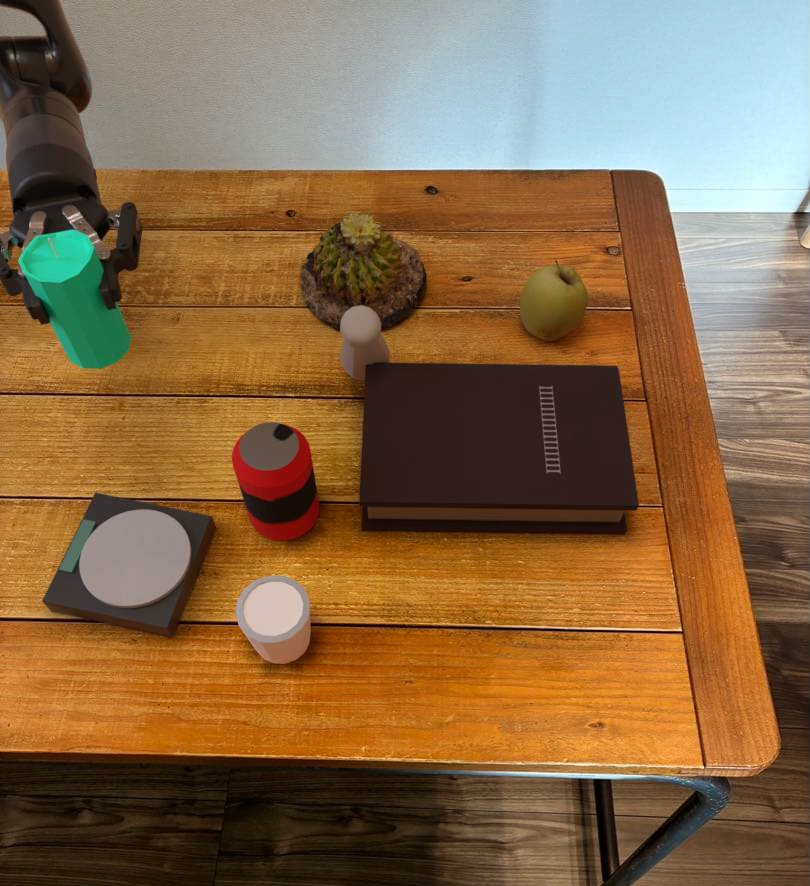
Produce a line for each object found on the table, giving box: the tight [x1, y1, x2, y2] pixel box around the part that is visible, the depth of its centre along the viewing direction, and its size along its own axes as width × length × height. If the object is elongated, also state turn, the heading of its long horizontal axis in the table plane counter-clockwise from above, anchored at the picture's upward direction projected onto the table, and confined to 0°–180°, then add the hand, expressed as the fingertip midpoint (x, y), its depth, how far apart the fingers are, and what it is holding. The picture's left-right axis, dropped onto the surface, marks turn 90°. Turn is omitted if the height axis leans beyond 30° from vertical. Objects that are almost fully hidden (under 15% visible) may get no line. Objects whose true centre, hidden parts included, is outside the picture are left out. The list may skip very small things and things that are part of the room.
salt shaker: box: [339, 305, 391, 382], centre depth 90 cm, size 6×6×13 cm
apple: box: [519, 259, 589, 342], centre depth 97 cm, size 8×8×10 cm
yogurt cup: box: [234, 574, 312, 665], centre depth 78 cm, size 7×7×7 cm
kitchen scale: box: [41, 492, 217, 639], centre depth 83 cm, size 13×13×3 cm
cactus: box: [299, 211, 428, 330], centre depth 101 cm, size 17×16×10 cm
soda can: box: [231, 421, 320, 541], centre depth 83 cm, size 8×8×12 cm
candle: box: [17, 230, 132, 370], centre depth 70 cm, size 6×6×12 cm
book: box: [358, 362, 640, 536], centre depth 89 cm, size 28×20×6 cm
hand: (75, 308), depth 68 cm, fingers closed on candle, 5 cm apart
